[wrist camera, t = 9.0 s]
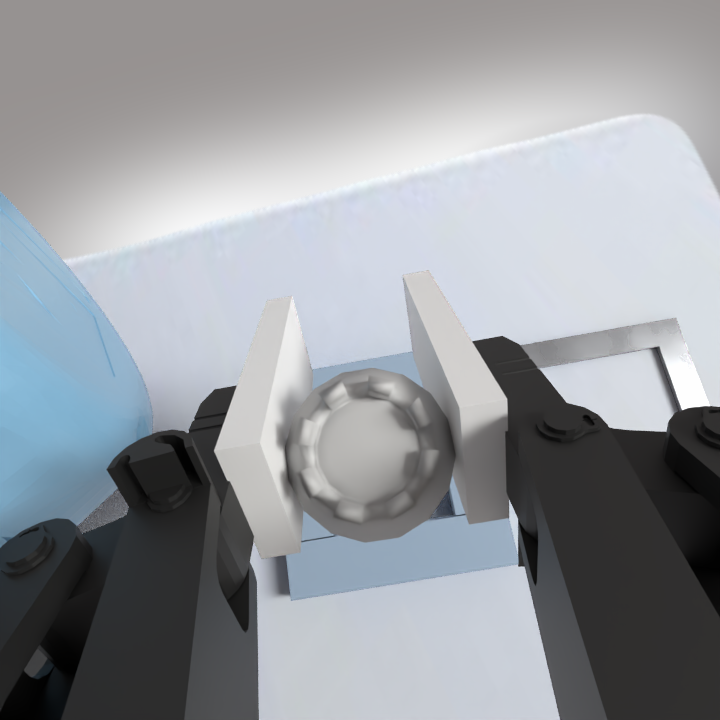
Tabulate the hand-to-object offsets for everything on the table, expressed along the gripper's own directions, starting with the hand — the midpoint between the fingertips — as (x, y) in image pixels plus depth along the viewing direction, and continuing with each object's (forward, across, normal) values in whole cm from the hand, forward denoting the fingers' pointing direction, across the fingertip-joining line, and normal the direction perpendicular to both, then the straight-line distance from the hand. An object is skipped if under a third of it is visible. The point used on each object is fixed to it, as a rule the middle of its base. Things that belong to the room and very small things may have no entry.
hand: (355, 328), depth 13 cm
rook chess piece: (0, 0, -5) cm, 5 cm away
